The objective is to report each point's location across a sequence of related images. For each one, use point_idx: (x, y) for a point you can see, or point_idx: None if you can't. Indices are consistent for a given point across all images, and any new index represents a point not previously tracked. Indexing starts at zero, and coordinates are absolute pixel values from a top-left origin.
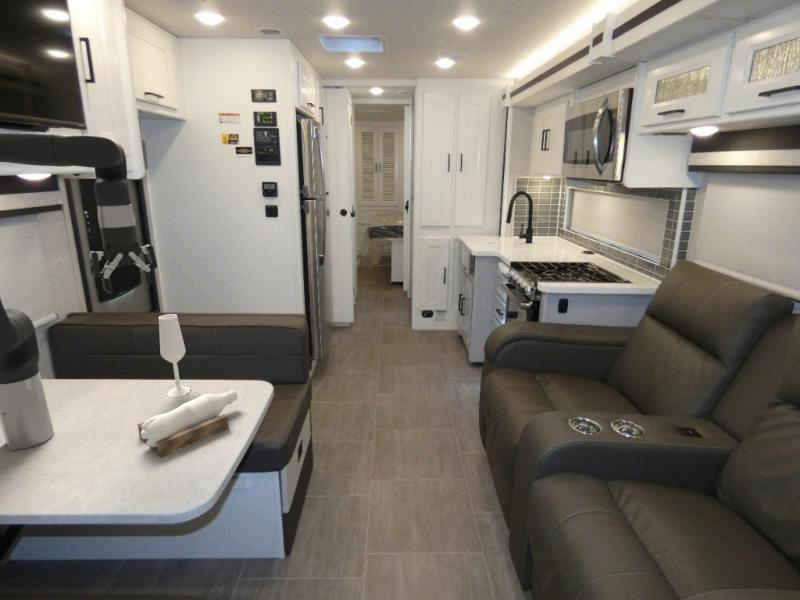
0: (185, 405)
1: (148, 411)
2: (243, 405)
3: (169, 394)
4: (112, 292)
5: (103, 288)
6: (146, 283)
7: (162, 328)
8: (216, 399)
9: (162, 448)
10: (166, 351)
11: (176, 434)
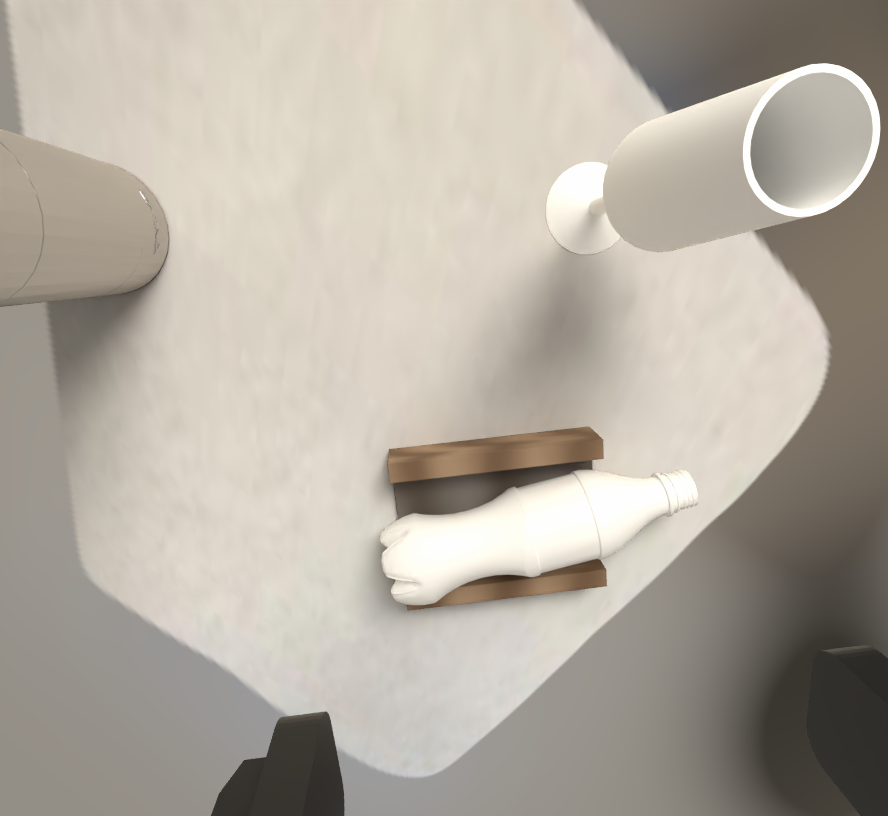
0: (522, 560)
1: (454, 295)
2: (691, 468)
3: (552, 212)
4: (339, 812)
5: (217, 801)
6: (848, 790)
7: (700, 194)
8: (619, 548)
9: None
10: (629, 229)
11: (459, 592)
